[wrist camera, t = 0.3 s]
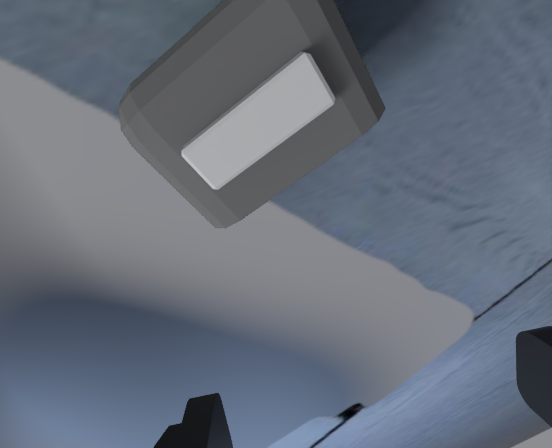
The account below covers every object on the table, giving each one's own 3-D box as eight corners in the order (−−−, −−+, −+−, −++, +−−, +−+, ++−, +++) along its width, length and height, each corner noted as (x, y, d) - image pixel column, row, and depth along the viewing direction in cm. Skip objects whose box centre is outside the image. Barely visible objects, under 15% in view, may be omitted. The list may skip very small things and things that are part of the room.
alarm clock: (216, 169, 37) (210, 249, 24) (139, 84, 31) (76, 127, 18) (336, 78, 33) (407, 113, 20) (274, -36, 28) (317, -90, 15)
